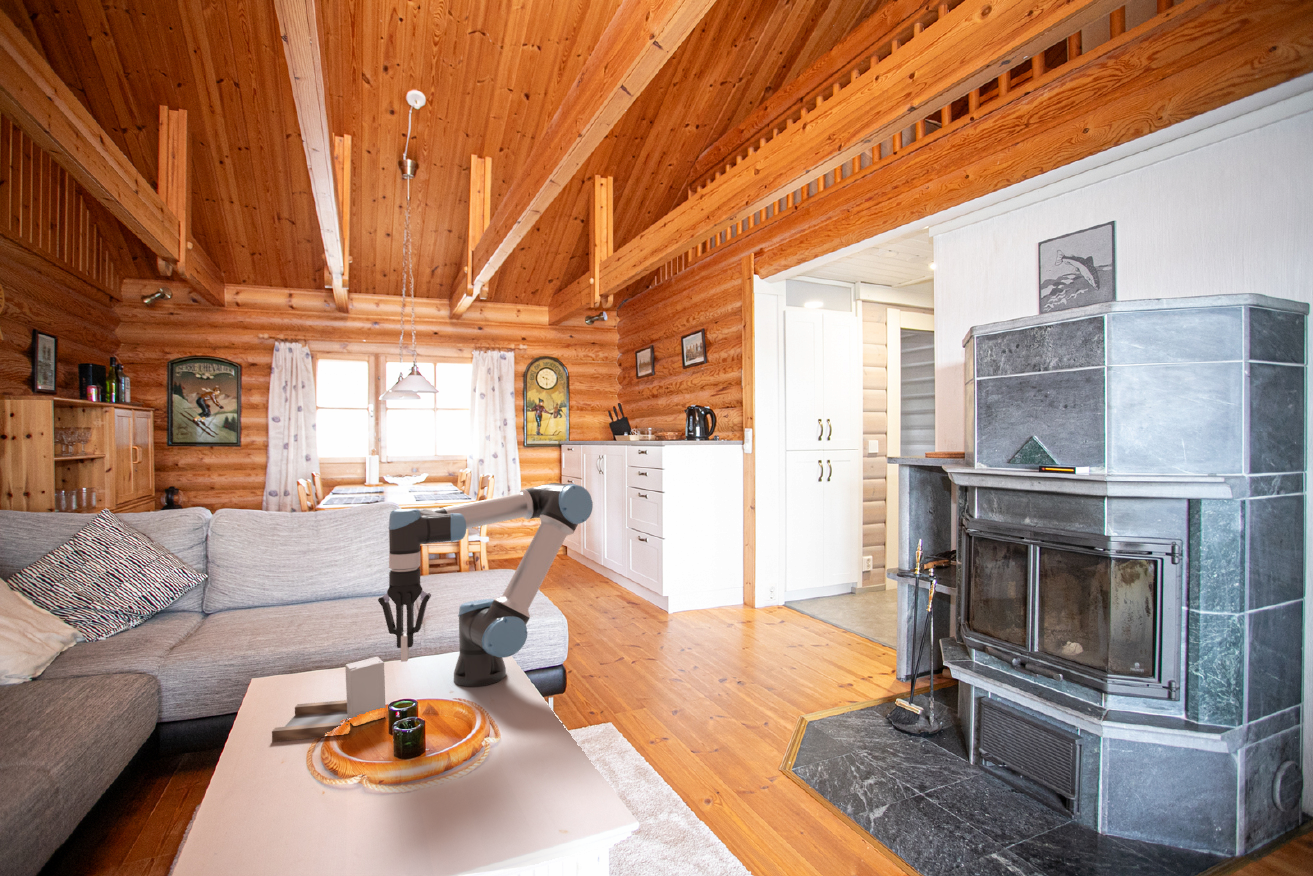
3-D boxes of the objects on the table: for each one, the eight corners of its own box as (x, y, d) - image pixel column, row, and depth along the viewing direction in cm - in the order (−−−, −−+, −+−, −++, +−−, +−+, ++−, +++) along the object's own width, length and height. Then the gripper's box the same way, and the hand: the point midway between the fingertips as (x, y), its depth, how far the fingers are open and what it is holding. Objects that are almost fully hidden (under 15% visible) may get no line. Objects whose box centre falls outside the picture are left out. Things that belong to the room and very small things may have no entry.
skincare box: (379, 711, 166) (379, 655, 166) (386, 719, 161) (385, 661, 161) (345, 721, 161) (344, 662, 161) (351, 729, 156) (350, 669, 156)
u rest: (366, 707, 168) (366, 698, 168) (348, 734, 153) (348, 724, 153) (297, 713, 165) (297, 704, 165) (272, 742, 150) (271, 731, 150)
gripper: (433, 565, 168) (433, 653, 167) (381, 567, 166) (382, 656, 165) (428, 570, 160) (428, 663, 160) (374, 572, 158) (374, 666, 158)
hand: (405, 659), depth 163 cm, fingers closed
